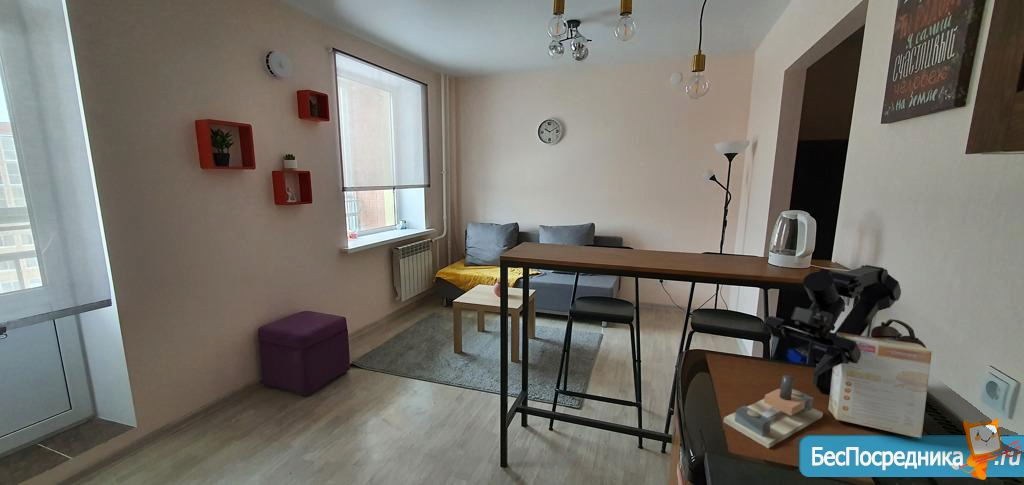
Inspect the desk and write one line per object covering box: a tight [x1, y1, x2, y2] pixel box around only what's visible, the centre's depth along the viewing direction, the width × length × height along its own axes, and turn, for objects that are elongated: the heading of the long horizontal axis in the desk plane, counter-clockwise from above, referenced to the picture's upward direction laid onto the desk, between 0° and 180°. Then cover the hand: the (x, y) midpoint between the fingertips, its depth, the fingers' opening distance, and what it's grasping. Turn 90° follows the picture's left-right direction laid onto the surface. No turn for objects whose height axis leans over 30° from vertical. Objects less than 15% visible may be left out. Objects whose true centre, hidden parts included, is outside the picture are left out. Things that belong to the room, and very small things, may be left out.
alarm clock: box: [870, 318, 927, 349], centre depth 103 cm, size 15×7×20 cm, turn 168°
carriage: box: [763, 374, 806, 415], centre depth 94 cm, size 6×6×7 cm
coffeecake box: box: [828, 332, 932, 438], centre depth 91 cm, size 15×7×20 cm, turn 64°
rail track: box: [723, 388, 824, 449], centre depth 92 cm, size 23×10×4 cm, turn 119°
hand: (792, 366), depth 93 cm, fingers open, 9 cm apart
